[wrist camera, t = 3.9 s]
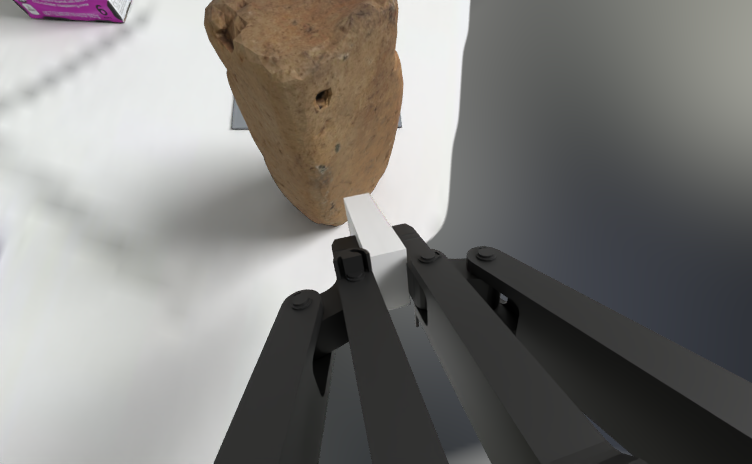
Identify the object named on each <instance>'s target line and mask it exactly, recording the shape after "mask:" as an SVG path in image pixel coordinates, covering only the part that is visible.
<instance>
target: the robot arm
mask: <svg viewBox="0 0 752 464" xmlns="http://www.w3.org/2000/svg"><path fill="white" fill-rule="evenodd" d="M343 199H344V204H345V210H346V215H347V220H348V226H349V231H350V236H349V237H344V238H339V239H335V240H334V242H333V244H332V251H333V257H334V259H333V263H334V268H335V272H336V276H337V280H336V282H335V284H334V285H333V286H332V287H331V288H330V289H328V290H327V291H325V292H323V293H321V294H319V293H318V292H316V291H314V290H301V291H298V292H295V293H293V294H291V295H290V296H289V297H287V298H286V299H285V301H284V302H283V304H282V305H281V308H280V310H279V312H278V315H277V317H276V319H275V322H274V324H273V326H272V329H271V331H270V333H269V336H268V338H267V340H266V343H265V345H264V347H263V350H262V352H261V354H260V357H259V359H258V361H257V364H256V366H255V368H254V371H253V373H252V375H251V378H250V380H249V382H248V385H247V387H246V389H245V391H244V394H243V396H242V398H241V401H240V403H239V405H238V408H237V410H236V412H235V415H234V417H233V419H232V422H231V424H230V426H229V429H228V431H227V433H226V436H225V438H224V440H223V443H222V445H221V447H220V450H219V452H218V454H217V457H216V459H215V461H214V464H319V458H320V451H321V444H322V438H323V432H324V425H325V418H326V412H327V405H328V399H329V393H330V386H331V379H332V372H333V366H334V360H335V349H337V348H339V347H340V346H342V345H344V344H345V343H347V342H349V344H350V349H351V354H352V359H353V364H354V369H355V375H356V380H357V386H358V391H359V396H360V401H361V406H362V412H363V417H364V422H365V427H366V433H367V438H368V443H369V448H370V454H371V459H372V464H449V463H448V461H447V458H446V456H445V453H444V451H443V448H442V446H441V443H440V440H439V438H438V435H437V433H436V430H435V428H434V425H433V423H432V420H431V418H430V415H429V413H428V410H427V408H426V405H425V403H424V400H423V398H422V395H421V393H420V390H419V388H418V385H417V383H416V380H415V377H414V375H413V372H412V370H411V367H410V365H409V363H408V360H407V357H406V355H405V352H404V350H403V347H402V345H401V342H400V340H399V337H398V335H397V332H396V330H395V327H394V325H393V322H392V320H391V317H390V314H389V312H388V310H392V309H396V308H399V307H403V306H407V305H410V304H411V302H410V296H411V297H412V299H413V301H414V310H415V323H416V327H418V326H419V322H420V324H421V325H422V327H423V329H424V331H425V333H426V335H427V337H428V339H429V341H430V343H431V345H432V347H433V349H434V351H435V353H436V355H437V357H438V359H439V361H440V363H441V365H442V367H443V369H444V371H445V373H446V374H447V377H448V379H449V381H450V383H451V385H452V387H453V388H454V391H455V392H456V394H457V396H458V398H459V400H460V402H461V404H462V406H463V408H464V410H465V412H466V414H467V416H468V418H469V420H470V422H471V424H472V426H473V428H474V430H475V432H476V434H477V436H478V438H479V440H480V442H481V443H482V446H483V448H484V449H485V452H486V453H487V456H488V458H489V459H490V461H491V463H492V464H752V383H750V382H748V381H746V380H745V379H743V378H741V377H739V376H737V375H735V374H733V373H731V372H729V371H728V370H726V369H724V368H722V367H720V366H718V365H716V364H714V363H712V362H710V361H709V360H707V359H705V358H703V357H701V356H699V355H697V354H695V353H693V352H691V351H689V350H688V349H686V348H683V347H682V346H680V345H678V344H676V343H674V342H672V341H671V340H668V339H667V338H665V337H663V336H661V335H659V334H657V333H655V332H653V331H652V330H650V329H648V328H646V327H644V326H642V325H640V324H638V323H636V322H634V321H633V320H630V319H629V318H627V317H625V316H623V315H621V314H619V313H617V312H615V311H614V310H612V309H610V308H608V307H606V306H604V305H602V304H600V303H598V302H596V301H595V300H593V299H590V298H589V297H587V296H585V295H583V294H581V293H579V292H577V291H576V290H574V289H572V288H570V287H568V286H566V285H564V284H562V283H560V282H558V281H557V280H555V279H553V278H551V277H549V276H547V275H545V274H543V273H541V272H539V271H537V270H536V269H534V268H532V267H530V266H528V265H526V264H524V263H522V262H520V261H518V260H517V259H515V258H513V257H511V256H509V255H507V254H505V253H503V252H501V251H500V250H497V249H495V248H492V247H486V246H482V247H475V248H472V249H471V250H469V251H468V253H467V259H448V258H447V257H446V256H445V255H444V254H443V253H441V252H440V251H437V250H435V249H430V248H429V247H428V245H427V244H426V243H425V242H424V241H423V239H422V238H421V237H420V236H419V234H418V233H417V232H416V231H415V230H414V228H413V227H411V226H409V225H407V224H400V225H396V226H391V225H390V224H389V222H388V221H387V219H386V218H385V216H384V215H383V213H382V212H381V210H380V209H379V207H378V206H377V204H376V203H375V201H374V200H373V198H372V197H371V195H370V194H369V193H366V194H361V195H355V196H350V197H345V198H343ZM501 293H502V294H503V295H505V296H506V297H508V301H507V302H506V301H504V300H502V299H501V298H500V294H501ZM582 412H583V413H584V414H585V415H586V416H587V417H588V418H590V419H591V420H592V421H593V422H594V423H596V424H597V425H598V426H599V427H600V428H601V429H603V430H604V431H605V432H606V433H607V434H608V435H610V436H611V437H612V438H613V439H614V440H616V441H617V442H618V443H619V444H620V445H621V446H622V447H624V448H625V449H626V450H627V451H628V452H629V453H631V454H632V455H633V456H630V455H627V454H623V453H621V452H619V451H618V450H616V449H615V448H614V447H613V446H612V445H611V444H610V443H609V442H608V441H607V440H606V439H605V438H604V437H603V436H602V435H601V434H600V432H599V431H598V430H597V429H596V428H595V427H594V426H593V424H592V423H591V422H590V421H589V420H588V419H587V418H586V416H585V415H584V414H583V413H582Z"/></svg>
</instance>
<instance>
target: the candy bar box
mask: <svg viewBox="0 0 752 464" xmlns="http://www.w3.org/2000/svg"><path fill="white" fill-rule="evenodd" d="M13 1H14V2H15V3H16V4H17V5H18V6H19V7H20V8H21V9H23V10H24V11H25V12H26V13H27V14H28V15H29V16H30V17H31V18H42V19H63V20H84V21H104V22H122V23H123V22H124V21H125V19H126V17H127V13H128V9H129V7H130V4H131V1H132V0H13Z"/></svg>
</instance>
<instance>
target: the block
mask: <svg viewBox="0 0 752 464" xmlns="http://www.w3.org/2000/svg"><path fill="white" fill-rule="evenodd" d="M397 20H398V3H397V0H212V2H211V3H210V4H209V5H208V6H207V7H206V8H205V18H204V26H205V29H206V32H207V35H208V38H209V41H210V42H211V44H212V46H213V47H214V49H215V51H216V53H217V54H218V56H219V58H220V59H221V61H222V62H223V64H224V65H225V67H226V68H227V78H228V82H229V85H230V88H231V90H232V93H233V95H234V98H235V100H236V103H237V105H238V107H239V109H240V111H241V114H242V116H243V118H244V120H245V122H246V124H247V127H248V129H249V131H250V133H251V136H252V138H253V139H254V141H255V143H256V145H257V146H258V148H259V150H260V151H261V153H262V155H263V156H264V160H265V163H266V165H267V168H268V170H269V172H270V174H271V176H272V177H273V179H274V181H275V183H276V184H277V186H278V187H279V189H280V190H281V192H282V193H283V194H284V196H285V197H286V198H287V199H288V200H289V201H290V202H291V203H292V204H293V205H294V206H295V207H296V208H297V209H299V210H300V211H301V212H302V213H303V214H304V215H305V216H307V217H308V218H309V219H310V220H312V221H313V222H315V223H319V224H320V223H323V224H326V225H332V226H339V225H342V224H344V223H345V222H346V221H348V220H347V215H346V210H345V204H344V199H343V198H345V197H350V196H355V195H361V194H366V193H369V194H371V192H372V191H373V190H374V188H375V187H376V185H377V183H378V181H379V179H380V178H381V177H382V175H383V174H384V172H385V169H386V167H387V165H388V162H389V158H390V155H391V151H392V148H393V144H394V140H395V135H396V131H397V127H398V122H399V117H400V111H401V104H402V96H403V77H402V70H401V63H400V59H399V56H398V54H397V52H396V51H395V46H396V38H397Z"/></svg>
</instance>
